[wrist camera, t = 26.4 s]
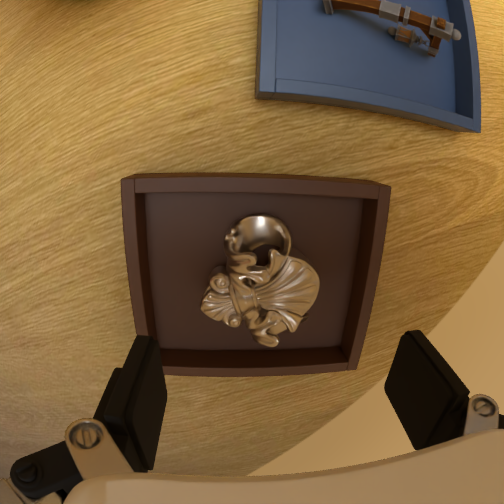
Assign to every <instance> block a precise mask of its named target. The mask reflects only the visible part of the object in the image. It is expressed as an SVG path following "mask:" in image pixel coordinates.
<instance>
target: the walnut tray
mask: <svg viewBox="0 0 504 504" xmlns="http://www.w3.org/2000/svg"><path fill="white" fill-rule="evenodd" d="M390 195H391V187H390V186H388V185H384V184H381V183H378V182H374V181H369V180H359V179H347V178H335V177H321V176H305V175H286V174H261V173H150V174H134V175H131V176H128V177H125V178H122V179H121V200H122V217H123V231H124V243H125V254H126V263H127V272H128V280H129V288H130V295H131V302H132V309H133V316H134V322H135V328H136V334H137V335H145V336H153V339H154V340H158V342H159V348H160V354H161V361H162V367H163V372H164V375H178V376H206V377H255V376H283V375H301V374H315V373H327V372H338V371H346V370H347V371H348V370H356V369H357V366H358V362H359V359H360V355H361V351H362V347H363V343H364V340H365V336H366V331H367V327H368V323H369V319H370V314H371V310H372V305H373V301H374V296H375V291H376V286H377V281H378V276H379V270H380V265H381V259H382V253H383V247H384V241H385V234H386V227H387V219H388V212H389V203H390ZM254 213H267V214H270V215H273V216H275V217H277V218H279V219H280V220H282V221H283V222H284V223H285V224H286V226H287V227H288V228H289V230H290V232H291V235H292V248H294V249H296V250H298V251H300V252H301V253H302V254H303V255H305V256H306V257H307V258H308V260H309V261H310V262H311V263H312V264H313V266H314V267H315V269H316V271H317V273H318V275H319V279H320V286H319V291H318V295H317V297H316V300H315V302H314V303H313V305H312V306H311V307H310V309H309V310H308V311H307V312H306V313H308V314H309V318H308V319H307V320H306V321H304V322H302V323H300V324H299V325H298V327H297V329H296V331H295V332H289V331H288V330H285V331H283V332H281V333H279V334H277V336H278V337H279V339H280V342H279V344H278V345H277V346H275V347H268V346H265V345H262V344H258V343H257V342H255V341H254V340H253V338H252V334H251V333H250V329H247V328H246V323H245V320H242V324H241V326H239V327H236V328H234V327H230V326H228V325H226V324H225V323H224V322H223V321H222V320H220V321H216V320H214V319H212V318H210V317H209V316H207V315H206V314H204V313H203V312H202V311H201V309H200V302H201V298H202V295H203V293H204V291H205V289H206V288H207V287H208V285H209V276H210V274H211V272H212V270H213V269H214V268H216V267H217V266H225V267H226V265H227V258H228V257H227V256H226V254H225V251H224V239H225V235H226V233H227V232H228V231H229V230H230V228H231V225H232V224H233V223H234V222H235V221H236V220H238V219H240V218H242V217H244V216H247V215H250V214H254ZM270 249H275V250H277V251H278V250H279V249H280V247H278V246H275V245H262V246H260V247H258V248H256V249H255V250H254V251H253V252H252V253H255V254H256V256H257V262H256V264H255V265H256V266H263V267H265V266H266V265H267V264H268V262H269V257H268V252H269V250H270Z"/></svg>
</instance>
